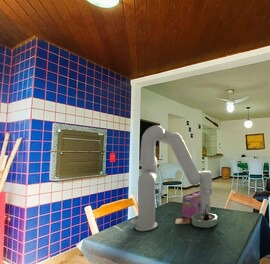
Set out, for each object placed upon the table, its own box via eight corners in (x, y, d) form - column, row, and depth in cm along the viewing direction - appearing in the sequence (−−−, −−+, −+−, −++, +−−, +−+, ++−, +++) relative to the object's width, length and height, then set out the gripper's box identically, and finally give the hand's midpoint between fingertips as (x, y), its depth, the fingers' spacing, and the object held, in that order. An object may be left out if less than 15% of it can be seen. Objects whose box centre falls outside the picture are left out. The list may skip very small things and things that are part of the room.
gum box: (200, 208, 153) (200, 190, 155) (209, 209, 149) (209, 191, 150) (181, 217, 133) (181, 196, 134) (191, 219, 129) (191, 197, 130)
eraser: (201, 223, 119) (201, 218, 119) (201, 221, 122) (201, 216, 123) (211, 223, 120) (211, 217, 120) (210, 221, 123) (210, 216, 123)
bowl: (192, 228, 113) (192, 221, 113) (191, 219, 128) (191, 213, 128) (218, 227, 114) (218, 220, 114) (214, 218, 129) (214, 212, 129)
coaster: (175, 224, 120) (175, 223, 120) (176, 219, 129) (175, 218, 129) (190, 223, 121) (190, 223, 121) (189, 218, 130) (189, 218, 130)
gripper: (198, 188, 130) (199, 217, 129) (200, 194, 114) (201, 227, 113) (210, 188, 131) (210, 217, 129) (213, 194, 115) (214, 227, 113)
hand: (206, 221), depth 121 cm, fingers closed on eraser, 3 cm apart
